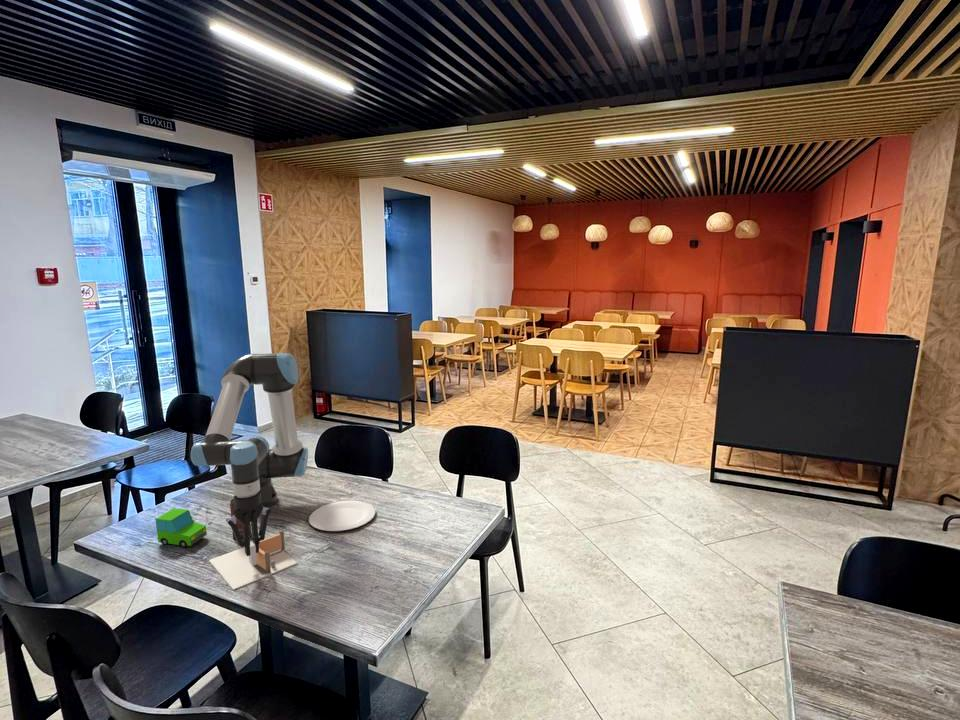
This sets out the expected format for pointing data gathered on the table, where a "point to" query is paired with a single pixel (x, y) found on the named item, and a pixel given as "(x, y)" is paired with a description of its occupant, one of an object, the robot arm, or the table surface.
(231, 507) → the can
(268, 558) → the panel
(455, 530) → the table surface
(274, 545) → the fixed panel
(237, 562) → the card
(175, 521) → the toy car
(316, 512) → the plate
